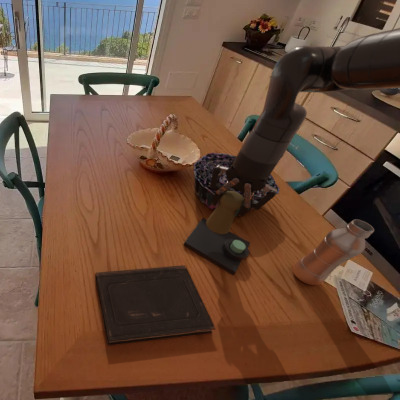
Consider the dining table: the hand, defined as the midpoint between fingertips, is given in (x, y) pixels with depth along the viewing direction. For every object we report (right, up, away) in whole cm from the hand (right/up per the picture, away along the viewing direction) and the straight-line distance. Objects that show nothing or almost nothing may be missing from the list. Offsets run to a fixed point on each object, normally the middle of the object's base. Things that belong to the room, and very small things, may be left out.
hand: (226, 209), depth 68 cm
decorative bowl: (+12, +4, +24) cm, 28 cm away
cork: (0, -5, +4) cm, 7 cm away
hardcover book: (-21, -22, -6) cm, 31 cm away
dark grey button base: (+1, -11, +8) cm, 13 cm away
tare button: (+5, -11, +4) cm, 12 cm away
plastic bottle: (+21, -18, +2) cm, 28 cm away
